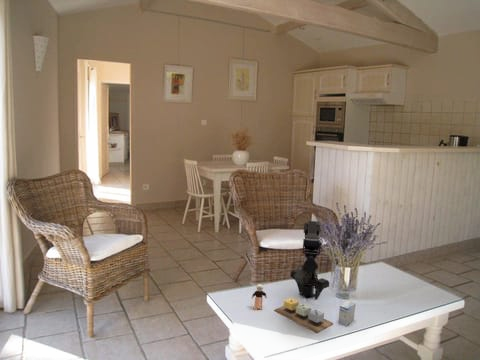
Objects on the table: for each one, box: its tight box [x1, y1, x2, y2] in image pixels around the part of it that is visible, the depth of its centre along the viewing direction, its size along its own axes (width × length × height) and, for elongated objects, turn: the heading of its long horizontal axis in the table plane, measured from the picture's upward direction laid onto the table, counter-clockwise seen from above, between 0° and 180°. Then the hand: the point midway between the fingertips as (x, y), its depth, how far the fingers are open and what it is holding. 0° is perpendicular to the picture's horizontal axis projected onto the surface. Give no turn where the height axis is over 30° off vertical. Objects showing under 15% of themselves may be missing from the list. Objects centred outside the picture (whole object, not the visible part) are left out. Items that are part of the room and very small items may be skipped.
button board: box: [273, 305, 334, 334], centre depth 191 cm, size 12×26×1 cm, turn 43°
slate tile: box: [308, 308, 325, 323], centre depth 185 cm, size 5×5×3 cm
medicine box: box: [337, 300, 356, 327], centre depth 188 cm, size 8×4×9 cm, turn 141°
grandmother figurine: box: [251, 283, 268, 311], centre depth 198 cm, size 8×4×13 cm, turn 105°
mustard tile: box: [283, 297, 300, 310], centre depth 196 cm, size 5×5×3 cm
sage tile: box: [296, 303, 312, 316], centre depth 191 cm, size 5×5×3 cm
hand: (308, 296), depth 186 cm, fingers open, 9 cm apart
